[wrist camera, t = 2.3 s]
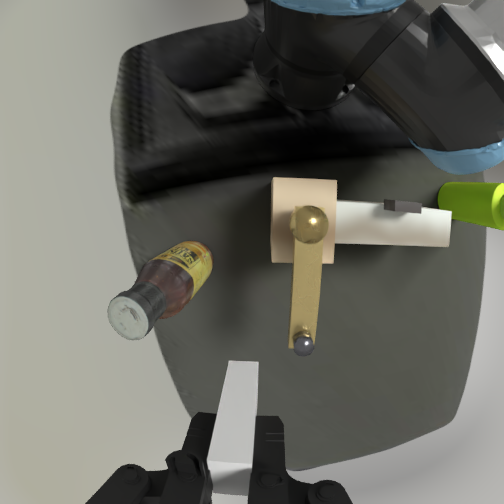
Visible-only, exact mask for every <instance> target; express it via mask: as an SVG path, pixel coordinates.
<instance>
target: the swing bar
mask: <svg viewBox="0 0 504 504" xmlns="http://www.w3.org/2000/svg"><path fill="white" fill-rule="evenodd" d="M289 226H290V230H291V232H292V234H293V257H292V279H291V297H290V314H289V329H288V347H289V348H294V351H295V353H296V354H297V355H299V356H307V355H310V354H311V353H312V352H313V350H314V342H315V334H316V325H317V316H318V306H319V295H320V284H321V271H322V256H323V239H324V237H325V236H326V234H327V232H328V228H329V222H328V218H327V216H326V214H325V208H324V207H318V206H311V205H303V206H294V211H293V213H292V214H291V216H290V220H289Z"/></svg>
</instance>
